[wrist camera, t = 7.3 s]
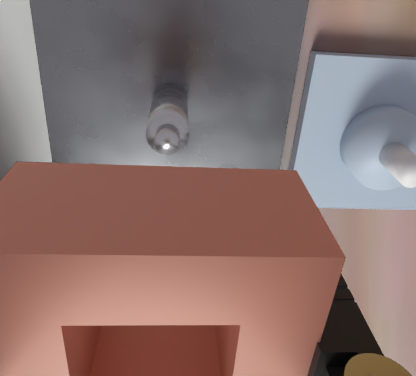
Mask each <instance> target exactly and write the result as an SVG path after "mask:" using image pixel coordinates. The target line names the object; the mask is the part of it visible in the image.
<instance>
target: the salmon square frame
mask: <svg viewBox="0 0 416 376" xmlns="http://www.w3.org/2000/svg"><path fill="white" fill-rule="evenodd" d="M345 258H346V257H345V256H344V254H343V252H342V250H341V249H340V247H339V245H338V243H337V241H336V240H335V238H334V236H333V234H332V233H331V231H330V229H329V227H328V225H327V224H326V222H325V220H324V218H323V217H322V215H321V213H320V211H319V209H318V208H317V206H316V204H315V202H314V201H313V199H312V197H311V195H310V194H309V192H308V190H307V188H306V186H305V185H304V183H303V181H302V179H301V178H300V176H299V174H298V172H297V170H272V169H240V168H208V167H175V166H143V165H111V164H79V163H47V162H16V163H15V164H14V165H13V166H12V167H11V169H10V170H9V171H8V172H7V174H6V175H5V176H4V177H3V178H2V180H1V181H0V376H307V375H308V371H309V368H310V365H311V361H312V358H313V355H314V351H315V348H316V345H317V342H320V341H321V337H322V334H323V331H324V327H325V324H326V321H327V318H328V314H329V311H330V308H331V304H332V301H333V298H334V295H335V291H336V288H337V285H338V281H339V278H340V275H341V272H342V268H343V265H344V262H345Z"/></svg>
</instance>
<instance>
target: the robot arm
mask: <svg viewBox="0 0 416 376" xmlns="http://www.w3.org/2000/svg"><path fill="white" fill-rule="evenodd" d="M307 376H412V375H411V374H410V373H409V372H408V371H407V370H406V369H405V368H404V367H402V366H401V365H400V364H398V363H397V362H395V361H393V360H392V359H390V358H387V357H385V356H384V355H383V353H382V351H381V349H380V347H379V345H378V344H377V342H376V340H375V338H374V336H373V334H372V332H371V330H370V328H369V326H368V324H367V322H366V321H365V319H364V317H363V315H362V313H361V311H360V309H359V307H358V305H357V303H355V302H354V298H353V296H352V294H351V292H350V290H349V289H348V288H347V284H346V282H345V280H344V278H343V276H342V274H341V275H340V278H339V281H338V285H337V288H336V291H335V295H334V298H333V301H332V304H331V308H330V311H329V314H328V318H327V321H326V324H325V327H324V331H323V334H322V337H321V341H320V342H317V345H316V348H315V351H314V355H313V358H312V361H311V365H310V368H309V371H308V375H307Z"/></svg>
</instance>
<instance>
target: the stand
mask: <svg viewBox="0 0 416 376" xmlns="http://www.w3.org/2000/svg"><path fill="white" fill-rule="evenodd" d="M289 170H297V172H298V174H299V176H300V178H301V179H302V181H303V183H304V185H305V186H306V188H307V190H308V192H309V194H310V195H311V197H312V199H313V201H314V202H315V204H316V206H317V208H352V209H396V210H416V57H406V56H389V55H371V54H354V53H337V52H320V51H311V53H310V58H309V63H308V69H307V74H306V79H305V85H304V90H303V96H302V101H301V106H300V112H299V117H298V122H297V128H296V133H295V139H294V144H293V149H292V155H291V160H290V165H289Z"/></svg>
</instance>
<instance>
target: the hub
mask: <svg viewBox="0 0 416 376" xmlns="http://www.w3.org/2000/svg"><path fill="white" fill-rule="evenodd" d="M308 1H309V0H30V7H31V14H32V21H33V28H34V35H35V43H36V50H37V57H38V64H39V71H40V78H41V85H42V92H43V99H44V106H45V113H46V120H47V127H48V134H49V141H50V148H51V155H52V162H53V163H79V164H111V165H143V166H175V167H208V168H240V169H272V170H279V169H280V163H281V157H282V152H283V146H284V140H285V134H286V128H287V123H288V117H289V111H290V105H291V100H292V94H293V88H294V82H295V76H296V71H297V65H298V59H299V53H300V48H301V42H302V36H303V30H304V24H305V19H306V13H307V7H308Z"/></svg>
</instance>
